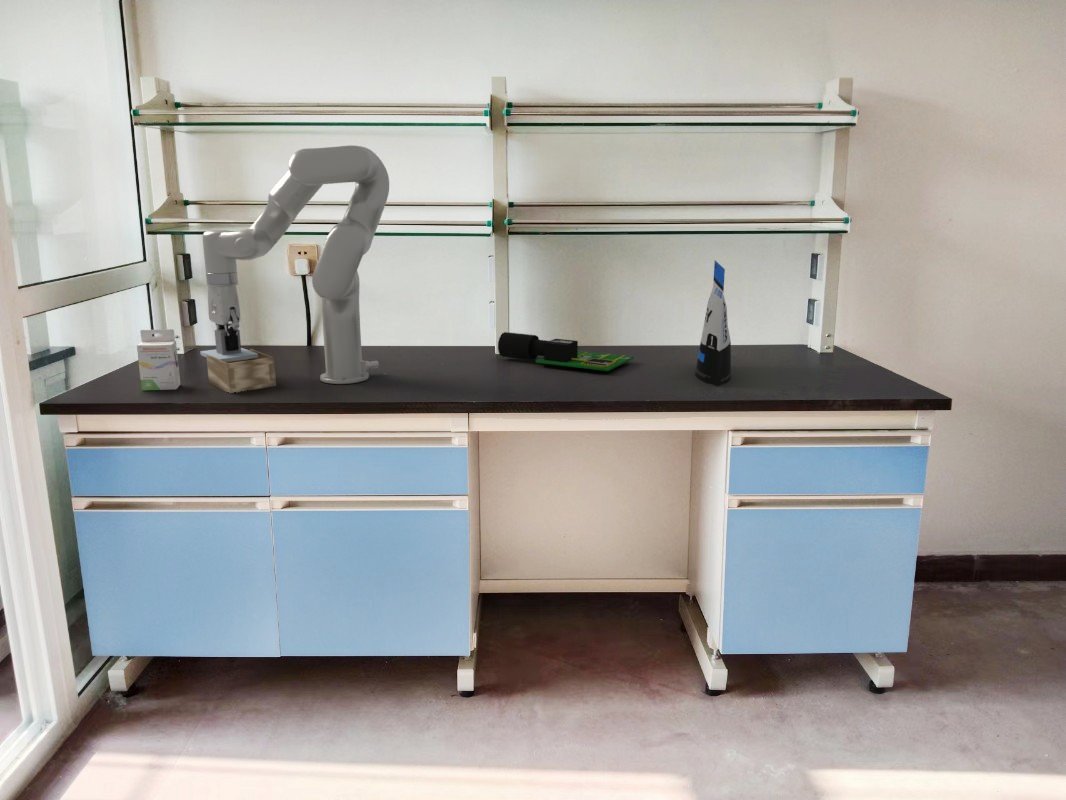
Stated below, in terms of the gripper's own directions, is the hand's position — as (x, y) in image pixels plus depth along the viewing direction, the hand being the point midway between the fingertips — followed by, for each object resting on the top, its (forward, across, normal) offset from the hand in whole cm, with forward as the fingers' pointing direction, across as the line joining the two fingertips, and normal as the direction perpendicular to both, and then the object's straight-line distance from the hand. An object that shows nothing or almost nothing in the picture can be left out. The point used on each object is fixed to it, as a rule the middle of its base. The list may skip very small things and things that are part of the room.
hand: (228, 348), depth 217 cm
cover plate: (+2, 0, 0) cm, 2 cm away
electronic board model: (+8, +44, +80) cm, 92 cm away
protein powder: (+8, +82, +99) cm, 129 cm away
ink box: (+9, -3, -17) cm, 19 cm away
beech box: (+8, +7, 0) cm, 11 cm away
